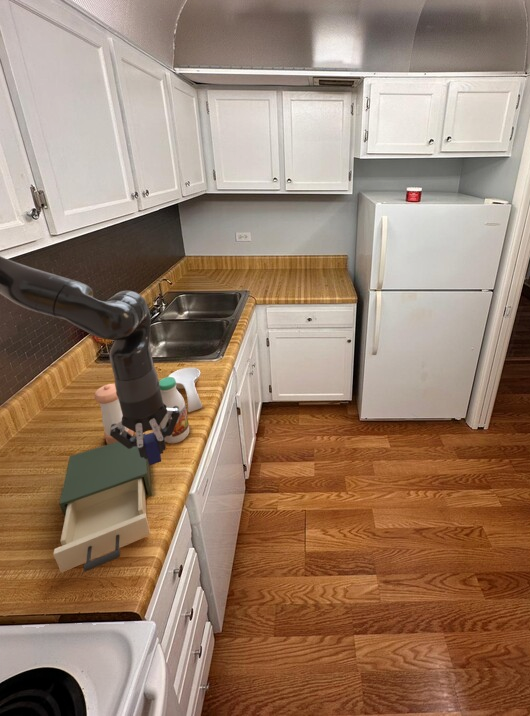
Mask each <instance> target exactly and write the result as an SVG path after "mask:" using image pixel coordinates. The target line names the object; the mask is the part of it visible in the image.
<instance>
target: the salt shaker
mask: <svg viewBox="0 0 530 716" xmlns="http://www.w3.org/2000/svg"><path fill="white" fill-rule="evenodd" d="M94 400H95V402H97V403H98V404H99V406H100V407H99V408H100V411H101V418H102V420H101V421H102V426H103V430H104V434H103V436H104V439H105V442H106V445H108V444H111V443H115V442H118V441H117V440H116V439H114V438H113V437H112V436H111V435H110V430H111V425H112V424H118V423H119V422H120V421H122V417H123V414H122V410H121V407H120V403H119V399H118V397H117V394H116V387H115V382H114V383H108V384H107V383H106V384H105V385H102V386H100V387H99V388H97V390H96V391H95V393H94ZM124 430H125V431H127V432H128V433H129V434H130V435H132V436H133V437H134V436H135V435H134V433H135V432H134V431H132V430H130V429H128V428H126V427H124Z"/></svg>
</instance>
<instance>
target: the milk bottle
mask: <svg viewBox="0 0 530 716" xmlns="http://www.w3.org/2000/svg"><path fill="white" fill-rule="evenodd" d="M159 385H160V390H161V395H162V400H163V403H164V404H165V405H166V407H167V408H173V407H174V406H178V407H179V413H180V415H179V418H178V420H177V423H176V425H175V428H174V430H173V432H172V435H170V436H166V437H165V438H164V439H165V443H168V444H179V443H181V442H182V441H184V440H185V439H186V438H187V437H188V436H189V433H190V425H189V417H188V411H187V407H186V406H187V405H186V402H185V399H184V397H183V395H182V394H181V392H180V391H178V388H176V381H175V379H174V378H173V377H168V376H166V377H163V378H161V379H159ZM167 421H168V415H167V414H166V415H165V417H164V418H163V420H162V422H161V423H160V425H161V427H162V429H163V428H165V426H166V423H167Z"/></svg>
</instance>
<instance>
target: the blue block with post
mask: <svg viewBox="0 0 530 716" xmlns="http://www.w3.org/2000/svg"><path fill="white" fill-rule="evenodd" d="M144 445H145V449H146V454H147V458H148V462H149V466H150V467H151V466H153V465H156V464H159V463H161V462H162V454H160V452H159V447H158V443H157V438H156V435H155V434H154V432H153V431H152V432H150V433H145V435H144Z"/></svg>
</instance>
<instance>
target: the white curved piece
mask: <svg viewBox="0 0 530 716" xmlns="http://www.w3.org/2000/svg"><path fill="white" fill-rule="evenodd" d="M200 376H201V370H200V369H199V368H197V367H192V366H191V367H189V366H188V367H184V368H180V369H177V370H175V371H173V372H171V373H170V374H169V375H168V376H167V377H173V378H174V379H175V381H176V389H180V390H185V394H186V402H187V413H192V412H195V411H198V410H201V409H203V404H202V401H201V399H200V396H199V394H198V391H197V388H196V383H197V382H198V380H199V379H200Z"/></svg>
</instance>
